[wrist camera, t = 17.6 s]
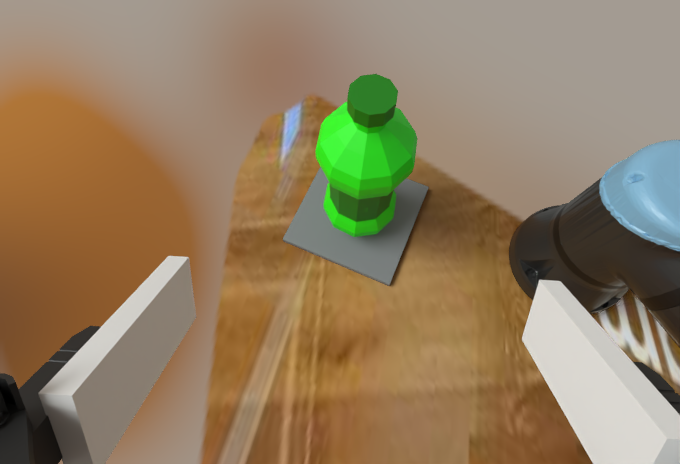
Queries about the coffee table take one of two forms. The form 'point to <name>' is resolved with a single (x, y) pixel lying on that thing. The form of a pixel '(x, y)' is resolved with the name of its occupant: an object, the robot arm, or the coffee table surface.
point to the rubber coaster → (364, 251)
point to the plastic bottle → (365, 156)
